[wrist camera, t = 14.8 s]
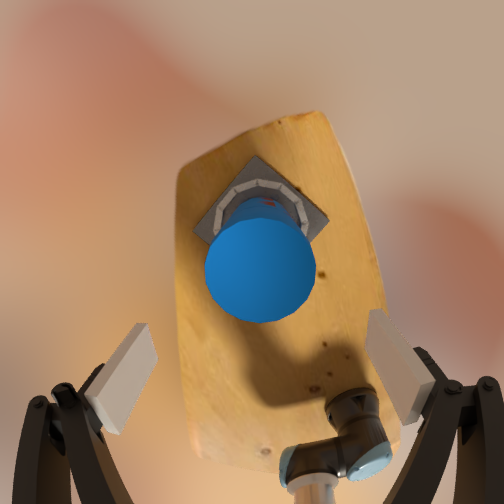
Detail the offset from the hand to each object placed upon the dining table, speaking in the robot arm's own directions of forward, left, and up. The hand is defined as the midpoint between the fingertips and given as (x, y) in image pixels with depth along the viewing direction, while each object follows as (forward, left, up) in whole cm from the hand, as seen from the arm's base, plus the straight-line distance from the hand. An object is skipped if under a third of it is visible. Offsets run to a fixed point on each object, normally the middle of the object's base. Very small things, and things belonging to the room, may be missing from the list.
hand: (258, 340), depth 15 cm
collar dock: (0, 0, -37) cm, 37 cm away
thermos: (0, 0, -36) cm, 36 cm away
